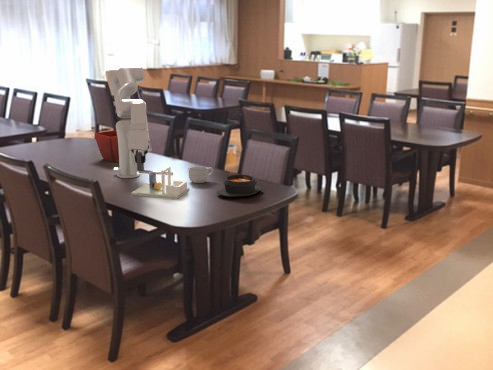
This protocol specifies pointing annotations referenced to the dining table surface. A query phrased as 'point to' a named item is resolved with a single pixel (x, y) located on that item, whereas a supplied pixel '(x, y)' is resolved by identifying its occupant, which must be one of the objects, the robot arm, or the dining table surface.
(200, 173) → the teacup
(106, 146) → the plant pot
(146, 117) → the robot arm
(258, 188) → the casserole
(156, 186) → the ball
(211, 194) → the dining table surface
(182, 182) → the cream platform with frame
